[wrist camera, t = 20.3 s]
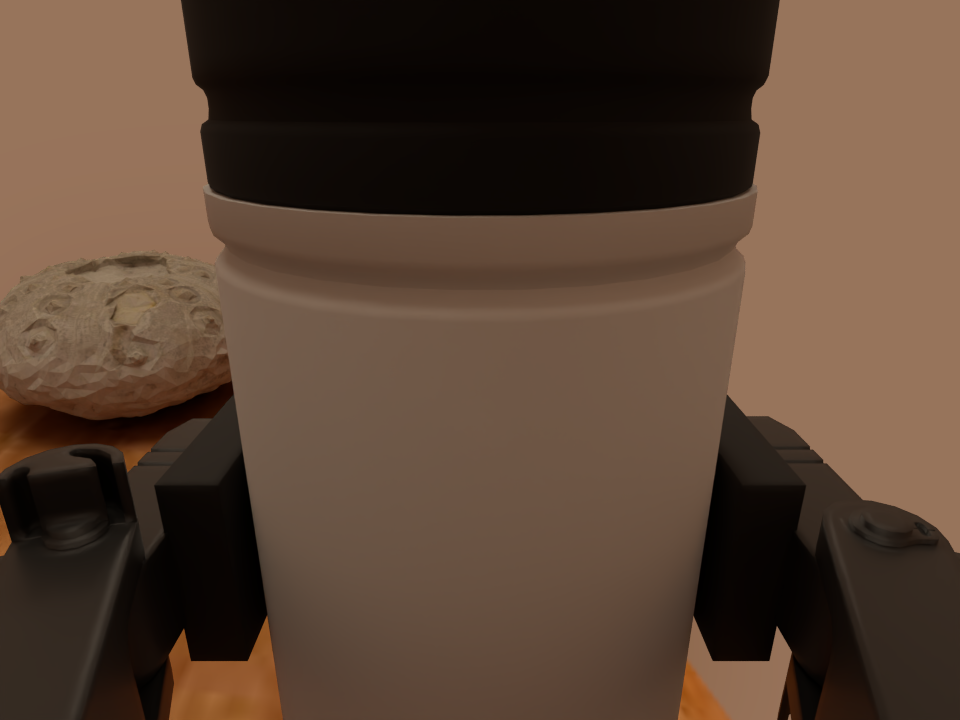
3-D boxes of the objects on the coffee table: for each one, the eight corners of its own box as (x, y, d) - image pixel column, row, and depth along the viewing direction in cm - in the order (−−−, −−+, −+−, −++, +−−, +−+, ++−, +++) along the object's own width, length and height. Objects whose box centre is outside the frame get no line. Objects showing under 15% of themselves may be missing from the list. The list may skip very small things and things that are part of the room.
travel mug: (311, 1284, 10) (-92, -470, 3) (343, 846, 16) (236, -81, 9) (687, 1211, 11) (1086, -363, 4) (583, 816, 17) (658, -69, 10)
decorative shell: (315, 390, 49) (303, 260, 46) (55, 485, 37) (9, 316, 33) (200, 338, 60) (182, 230, 56) (-32, 398, 47) (-74, 264, 44)
